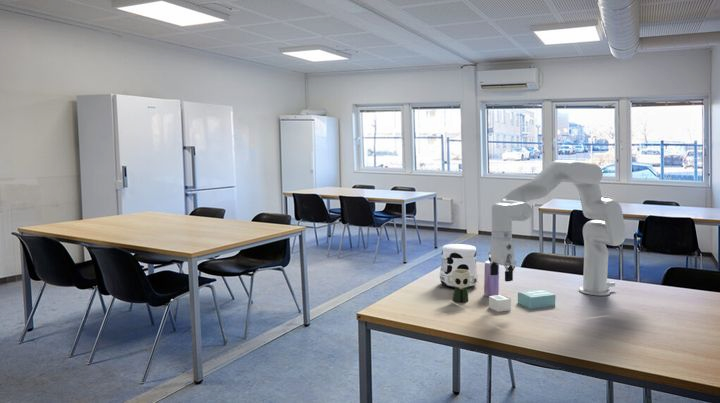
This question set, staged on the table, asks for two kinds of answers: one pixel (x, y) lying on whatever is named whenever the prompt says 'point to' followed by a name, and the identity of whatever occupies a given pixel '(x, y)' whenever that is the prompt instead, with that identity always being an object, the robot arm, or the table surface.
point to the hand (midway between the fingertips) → (501, 277)
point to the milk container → (458, 262)
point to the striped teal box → (536, 298)
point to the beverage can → (490, 281)
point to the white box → (499, 303)
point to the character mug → (460, 284)
